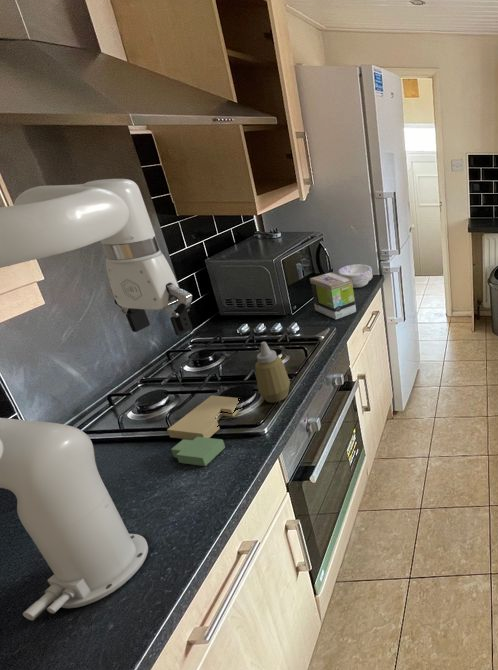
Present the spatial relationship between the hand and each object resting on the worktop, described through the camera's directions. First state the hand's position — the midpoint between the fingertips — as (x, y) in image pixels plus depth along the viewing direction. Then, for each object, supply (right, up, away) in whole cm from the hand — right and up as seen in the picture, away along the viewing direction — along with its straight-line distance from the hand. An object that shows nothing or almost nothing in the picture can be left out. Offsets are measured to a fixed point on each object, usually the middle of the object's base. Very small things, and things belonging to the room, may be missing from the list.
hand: (163, 330), depth 83 cm
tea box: (-3, -2, +90) cm, 90 cm away
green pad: (-6, -32, +17) cm, 36 cm away
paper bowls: (-5, +10, +117) cm, 118 cm away
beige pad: (-11, -27, +28) cm, 40 cm away
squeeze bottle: (+2, -23, +37) cm, 44 cm away
